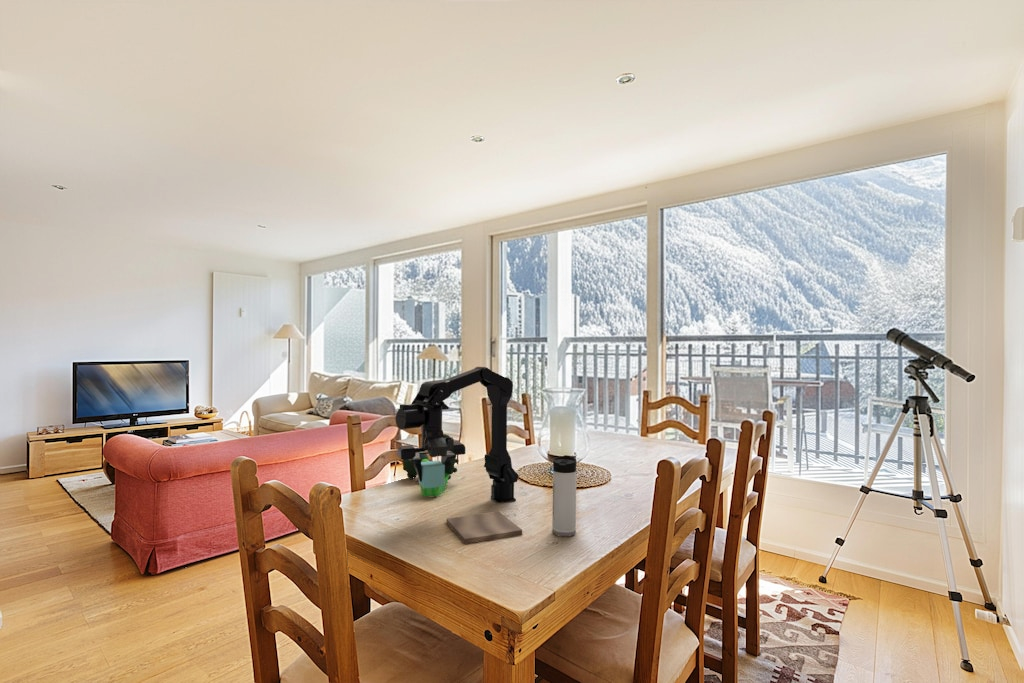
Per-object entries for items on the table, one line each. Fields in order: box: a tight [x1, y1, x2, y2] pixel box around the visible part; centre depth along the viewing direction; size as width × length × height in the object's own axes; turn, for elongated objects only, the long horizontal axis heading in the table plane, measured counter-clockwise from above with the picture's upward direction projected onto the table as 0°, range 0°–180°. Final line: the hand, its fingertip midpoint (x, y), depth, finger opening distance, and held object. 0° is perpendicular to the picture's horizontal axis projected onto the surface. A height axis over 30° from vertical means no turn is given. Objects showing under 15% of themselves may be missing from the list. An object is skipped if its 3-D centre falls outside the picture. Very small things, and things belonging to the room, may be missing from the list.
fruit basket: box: [418, 459, 449, 498], centre depth 168 cm, size 11×9×11 cm
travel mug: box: [551, 454, 577, 537], centre depth 134 cm, size 6×7×20 cm
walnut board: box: [445, 510, 523, 545], centre depth 136 cm, size 16×16×1 cm
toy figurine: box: [402, 433, 459, 481], centre depth 183 cm, size 9×19×25 cm
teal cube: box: [418, 460, 445, 488], centre depth 143 cm, size 6×6×6 cm
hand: (431, 480), depth 143 cm, fingers closed on teal cube, 6 cm apart
